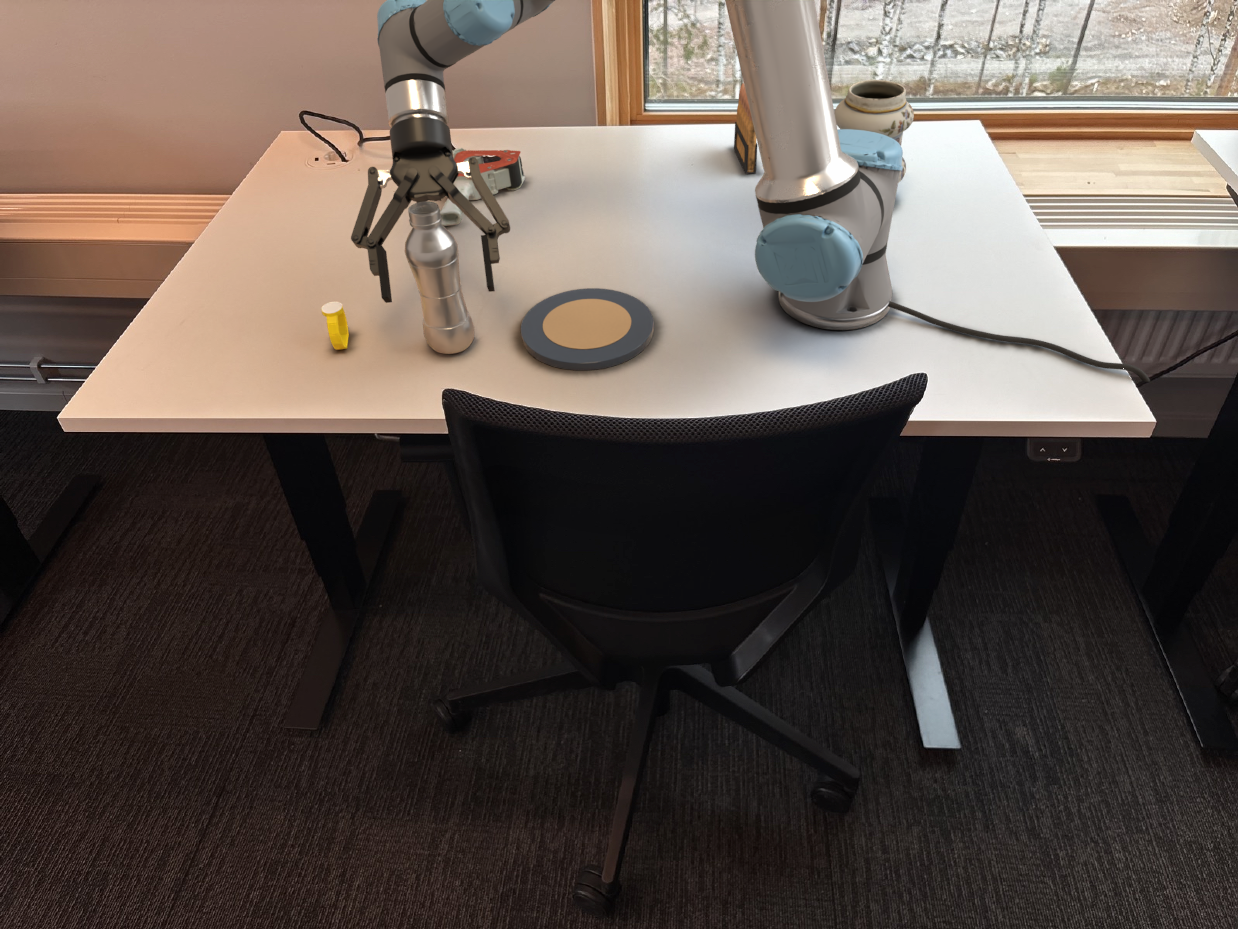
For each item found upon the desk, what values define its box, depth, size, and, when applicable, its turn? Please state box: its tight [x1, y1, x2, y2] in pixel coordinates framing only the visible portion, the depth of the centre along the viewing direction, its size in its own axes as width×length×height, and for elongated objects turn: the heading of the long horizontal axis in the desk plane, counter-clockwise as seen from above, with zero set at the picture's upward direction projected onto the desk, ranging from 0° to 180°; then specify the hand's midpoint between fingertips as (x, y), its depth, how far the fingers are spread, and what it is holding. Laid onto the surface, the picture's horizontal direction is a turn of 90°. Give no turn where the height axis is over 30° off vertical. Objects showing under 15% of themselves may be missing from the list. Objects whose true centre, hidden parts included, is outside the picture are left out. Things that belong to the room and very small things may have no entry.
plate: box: [520, 287, 655, 371], centre depth 121 cm, size 18×18×1 cm
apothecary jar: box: [834, 79, 915, 184], centre depth 140 cm, size 12×12×18 cm
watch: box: [320, 301, 350, 351], centre depth 120 cm, size 6×3×6 cm, turn 7°
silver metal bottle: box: [404, 200, 475, 355], centre depth 114 cm, size 6×7×20 cm
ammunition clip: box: [733, 82, 758, 175], centre depth 155 cm, size 11×2×12 cm, turn 6°
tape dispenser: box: [440, 147, 526, 227], centre depth 152 cm, size 18×5×20 cm
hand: (439, 294), depth 112 cm, fingers open, 12 cm apart
